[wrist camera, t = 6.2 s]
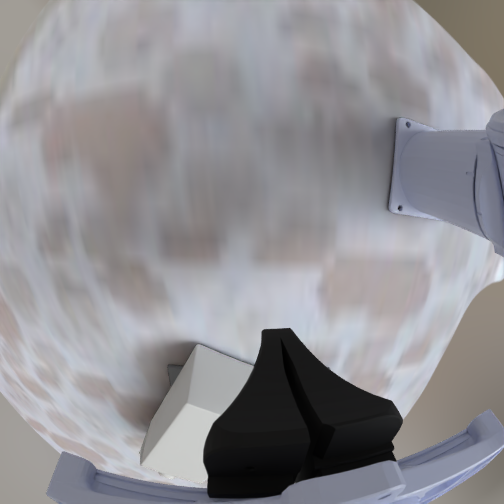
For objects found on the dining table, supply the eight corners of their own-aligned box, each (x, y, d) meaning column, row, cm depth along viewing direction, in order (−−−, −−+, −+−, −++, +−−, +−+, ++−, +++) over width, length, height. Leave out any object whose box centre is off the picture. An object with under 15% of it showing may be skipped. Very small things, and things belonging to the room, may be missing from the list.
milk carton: (267, 369, 24) (193, 449, 29) (197, 341, 23) (144, 432, 28) (275, 428, 17) (189, 491, 22) (187, 401, 16) (133, 474, 21)
